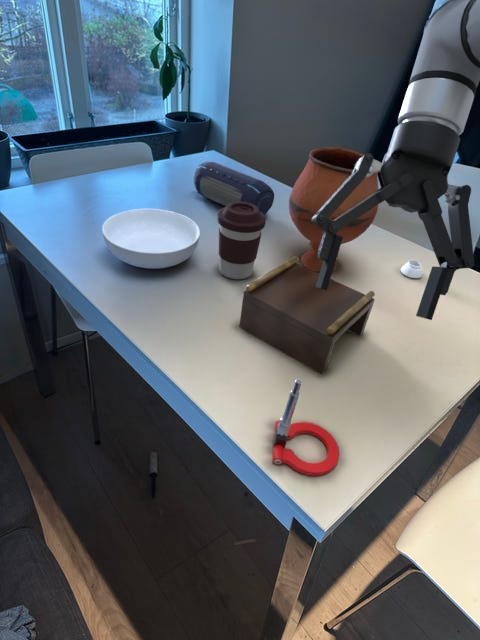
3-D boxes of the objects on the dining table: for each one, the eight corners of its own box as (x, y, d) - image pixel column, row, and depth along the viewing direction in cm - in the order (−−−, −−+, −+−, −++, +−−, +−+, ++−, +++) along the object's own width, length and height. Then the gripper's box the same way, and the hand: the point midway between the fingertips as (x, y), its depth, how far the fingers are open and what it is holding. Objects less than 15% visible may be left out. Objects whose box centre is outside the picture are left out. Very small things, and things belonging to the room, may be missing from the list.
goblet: (292, 286, 97) (316, 172, 82) (270, 244, 111) (286, 141, 96) (372, 284, 101) (409, 175, 86) (340, 243, 116) (367, 144, 101)
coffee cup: (233, 288, 94) (240, 222, 85) (204, 267, 99) (208, 203, 90) (266, 275, 99) (277, 212, 90) (237, 256, 105) (244, 195, 96)
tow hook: (335, 432, 66) (274, 420, 66) (363, 371, 58) (293, 357, 58) (338, 483, 60) (270, 469, 60) (370, 420, 52) (291, 405, 52)
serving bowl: (115, 287, 90) (113, 257, 85) (96, 239, 104) (94, 211, 100) (212, 273, 98) (214, 245, 93) (182, 231, 112) (182, 205, 108)
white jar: (399, 266, 109) (400, 276, 105) (403, 256, 107) (404, 266, 103) (420, 271, 108) (422, 281, 104) (424, 260, 107) (426, 270, 103)
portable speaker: (186, 195, 130) (187, 161, 124) (210, 188, 137) (212, 155, 131) (253, 226, 119) (257, 189, 113) (275, 216, 125) (280, 181, 119)
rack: (363, 332, 86) (377, 291, 80) (321, 375, 75) (334, 331, 70) (286, 294, 94) (294, 254, 88) (238, 327, 83) (244, 284, 78)
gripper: (502, 168, 58) (449, 325, 60) (320, 109, 55) (272, 274, 58) (545, 155, 50) (482, 334, 53) (337, 85, 48) (281, 277, 50)
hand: (372, 303), depth 55 cm, fingers open, 13 cm apart
